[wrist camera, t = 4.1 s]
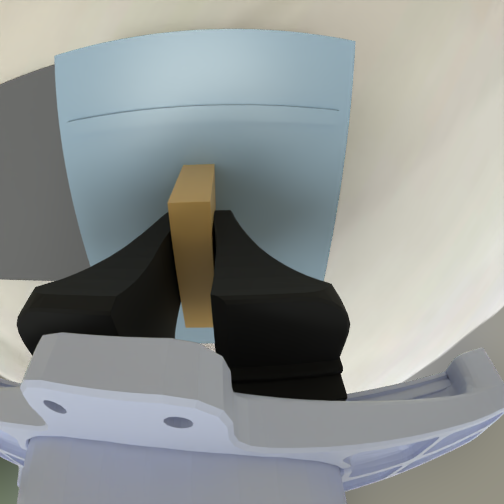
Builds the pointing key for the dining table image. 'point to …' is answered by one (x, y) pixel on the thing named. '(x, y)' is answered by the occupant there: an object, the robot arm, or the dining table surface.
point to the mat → (35, 185)
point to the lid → (207, 146)
